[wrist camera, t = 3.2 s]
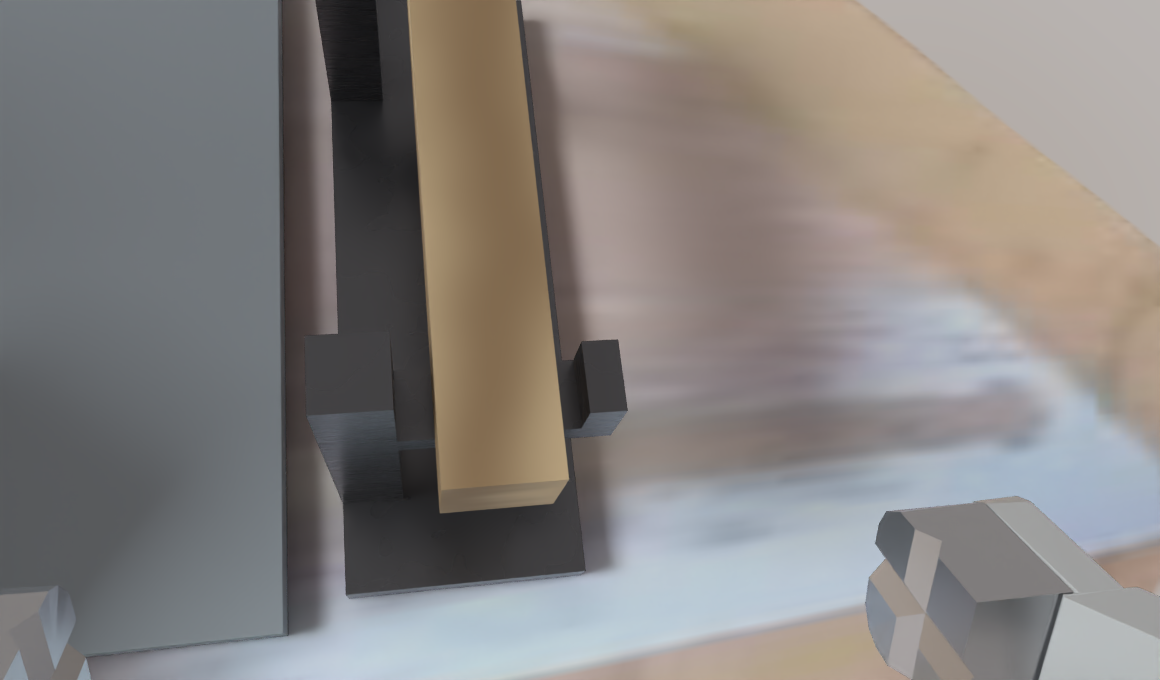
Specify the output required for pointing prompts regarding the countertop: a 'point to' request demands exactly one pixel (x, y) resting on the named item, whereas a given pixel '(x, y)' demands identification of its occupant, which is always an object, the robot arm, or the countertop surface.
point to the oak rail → (483, 261)
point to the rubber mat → (144, 317)
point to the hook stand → (416, 347)
